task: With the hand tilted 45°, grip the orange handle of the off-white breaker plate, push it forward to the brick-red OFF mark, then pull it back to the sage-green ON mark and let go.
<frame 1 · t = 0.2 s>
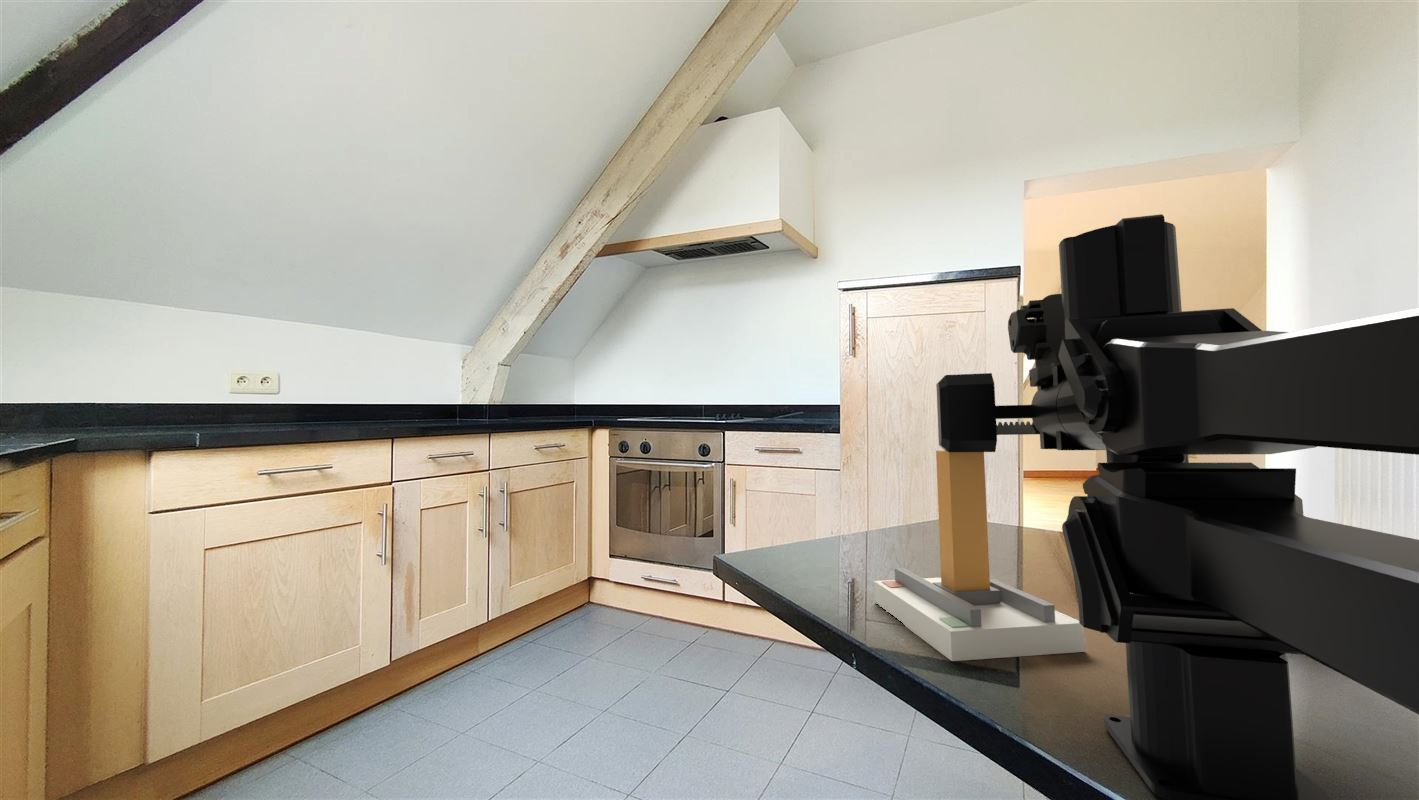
hand: (1039, 415, 51), 17 cm above the table, tool horizontal, fingers open, 9 cm apart
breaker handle: (962, 524, 46), point 8 cm above the table, slide at 2.4 cm
supplement bottle: (1226, 623, 45), on the table
breaker plate: (966, 624, 45), on the table
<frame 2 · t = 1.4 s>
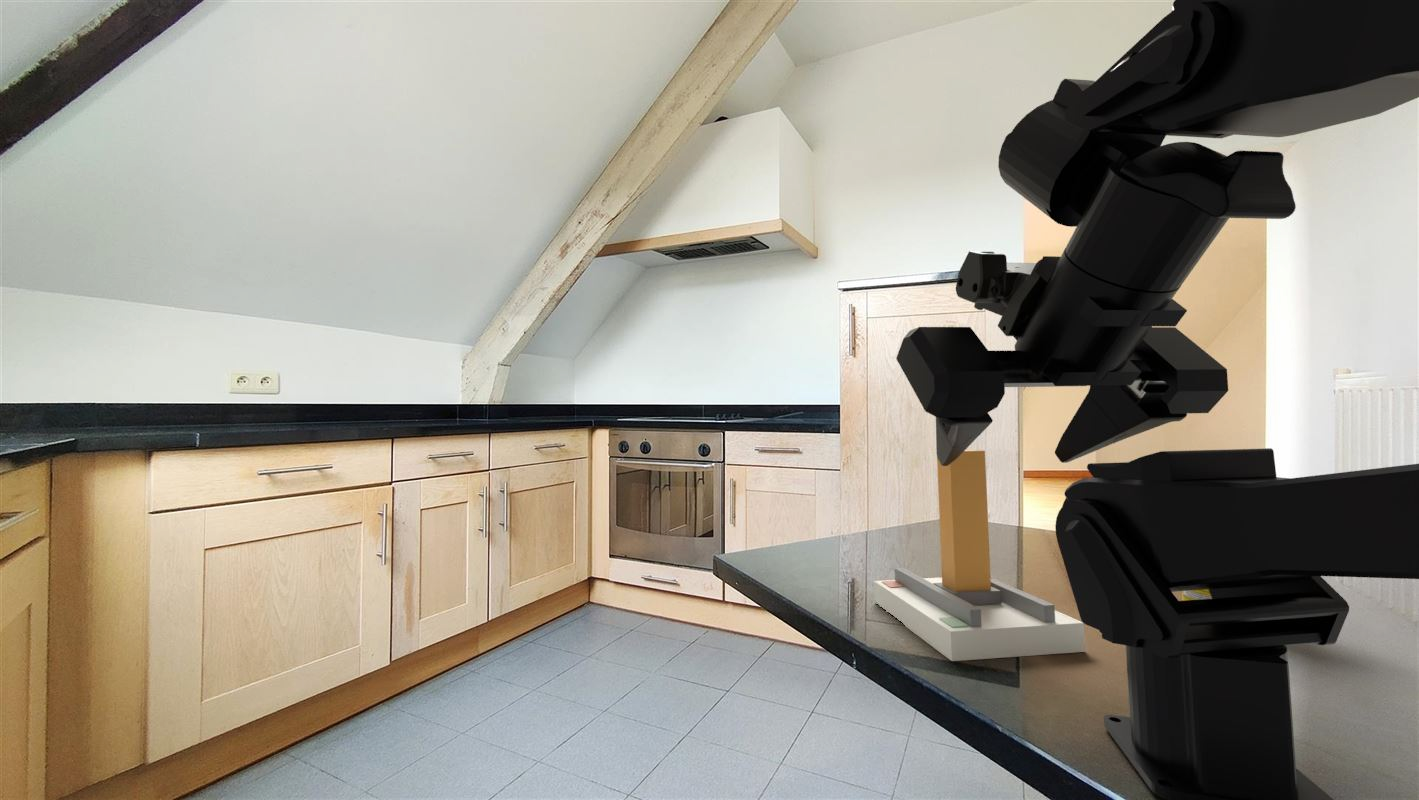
hand: (1001, 459, 41), 14 cm above the table, tool tilted 45°, fingers open, 9 cm apart
nothing on the table moved.
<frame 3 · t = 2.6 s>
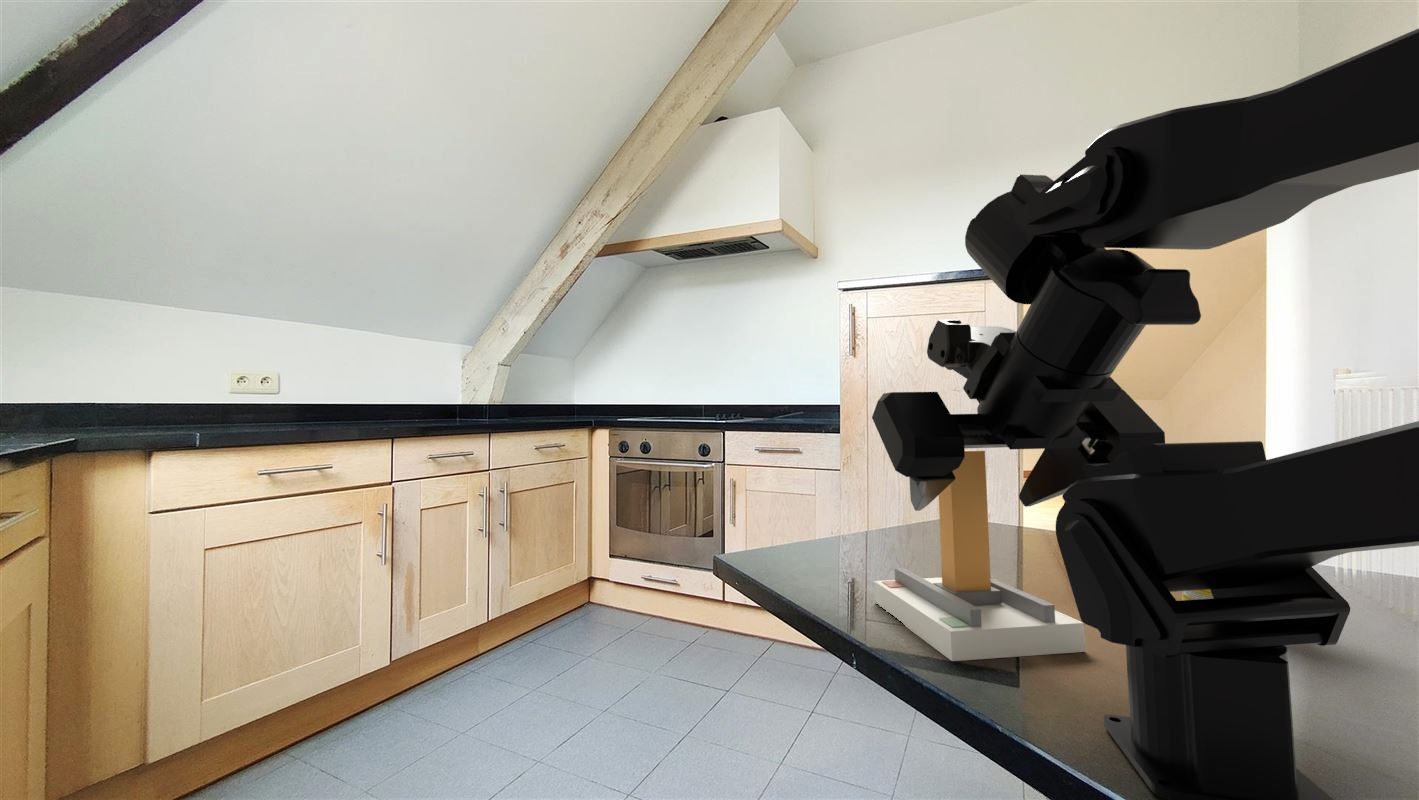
hand: (969, 503, 45), 10 cm above the table, tool tilted 45°, fingers open, 9 cm apart
nothing on the table moved.
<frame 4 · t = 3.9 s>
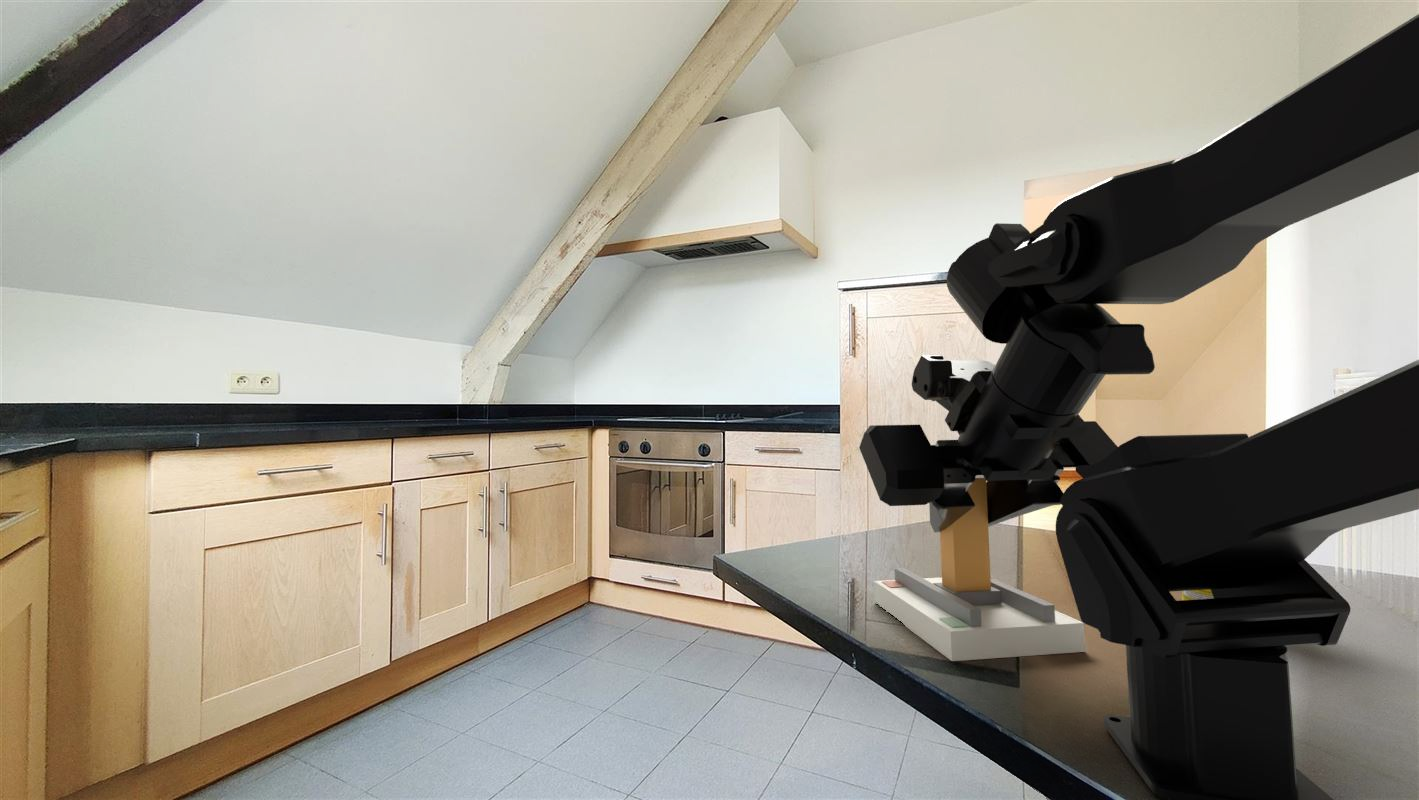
hand: (953, 526, 47), 8 cm above the table, tool tilted 45°, fingers closed on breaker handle, 3 cm apart
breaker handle: (963, 524, 46), point 8 cm above the table, slide at 2.3 cm, touching gripper
everything else where it was.
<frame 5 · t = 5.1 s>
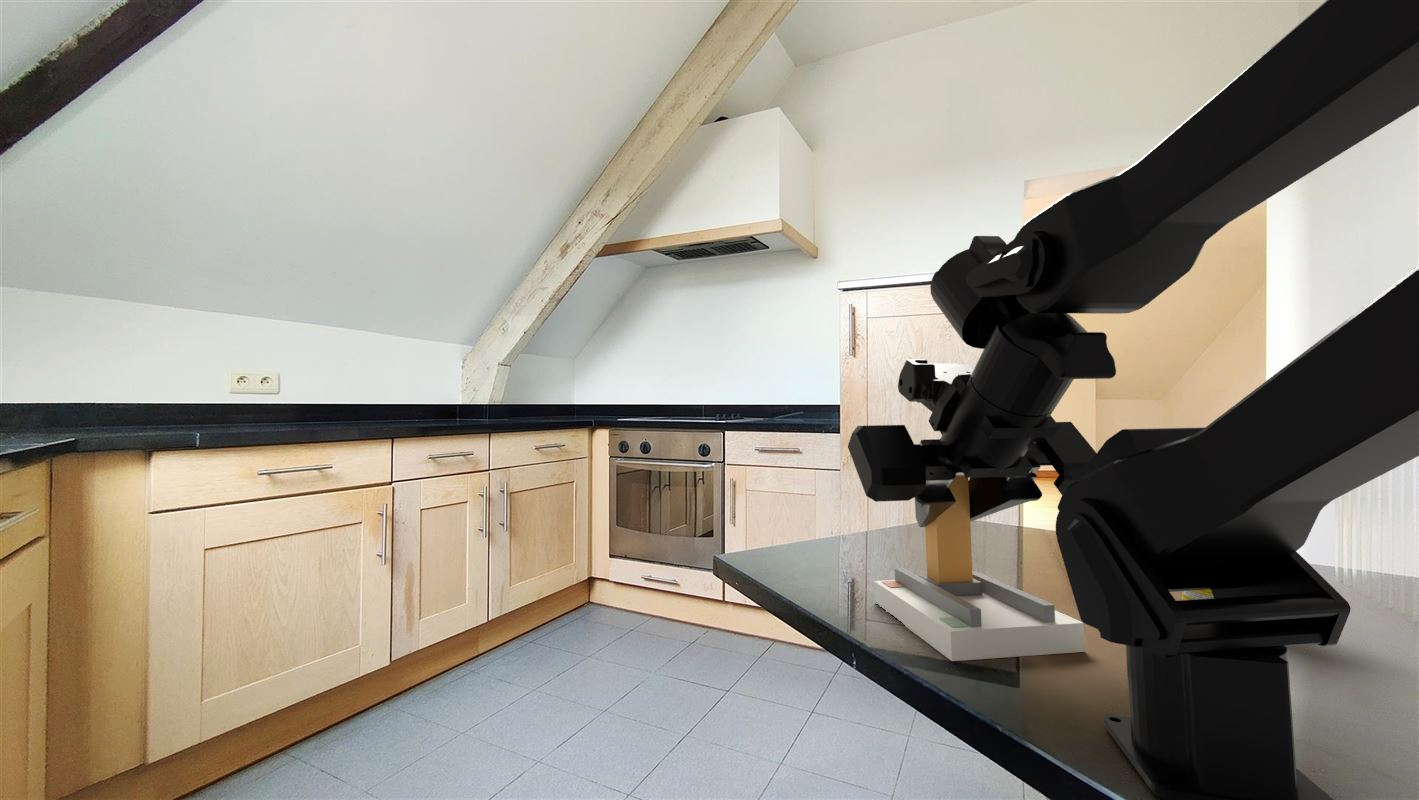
hand: (937, 522, 50), 8 cm above the table, tool tilted 45°, fingers closed on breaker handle, 3 cm apart
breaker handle: (947, 519, 48), point 8 cm above the table, slide at 4.8 cm, touching gripper
everything else where it was.
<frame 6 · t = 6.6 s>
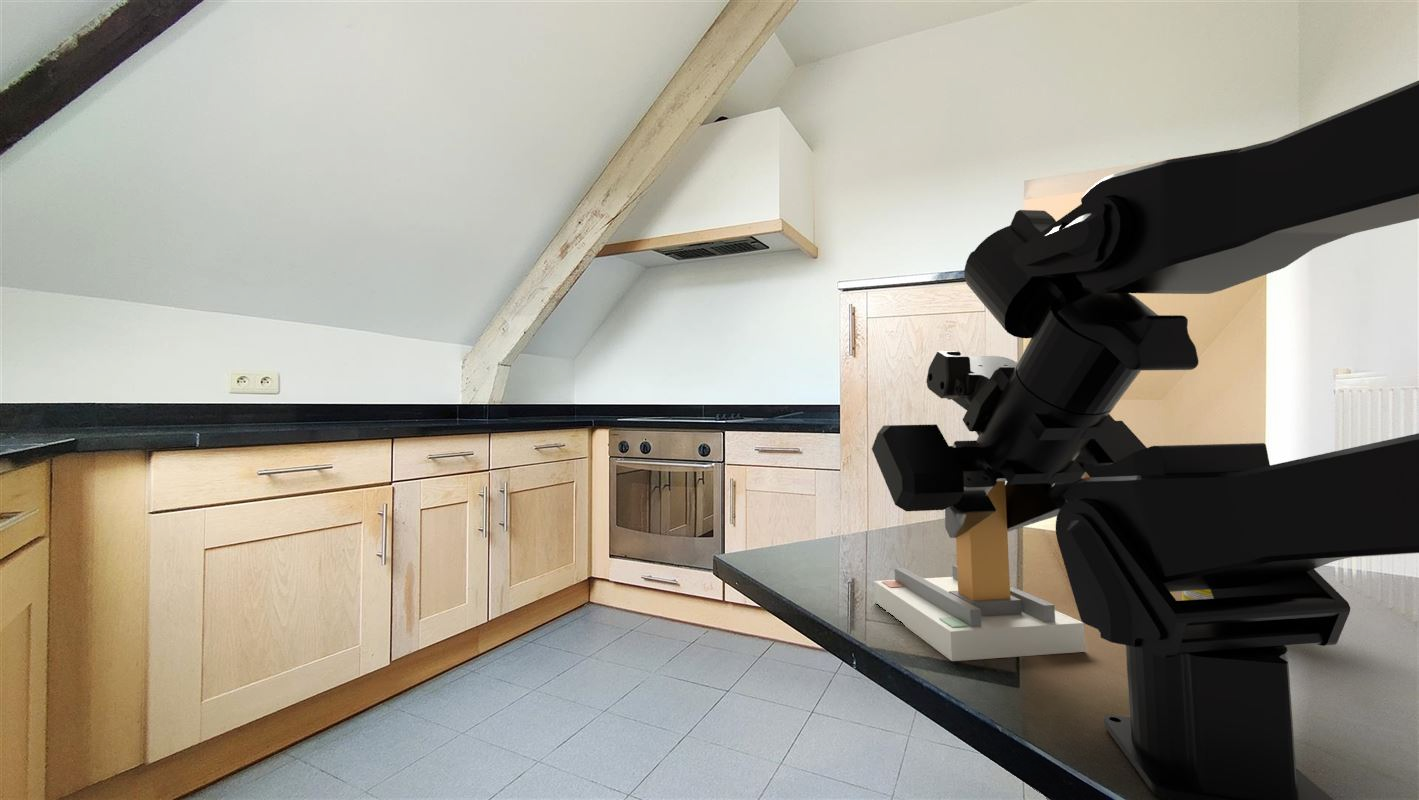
hand: (969, 532, 45), 8 cm above the table, tool tilted 45°, fingers closed on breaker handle, 3 cm apart
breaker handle: (980, 529, 43), point 8 cm above the table, slide at -0.1 cm, touching gripper
everything else where it was.
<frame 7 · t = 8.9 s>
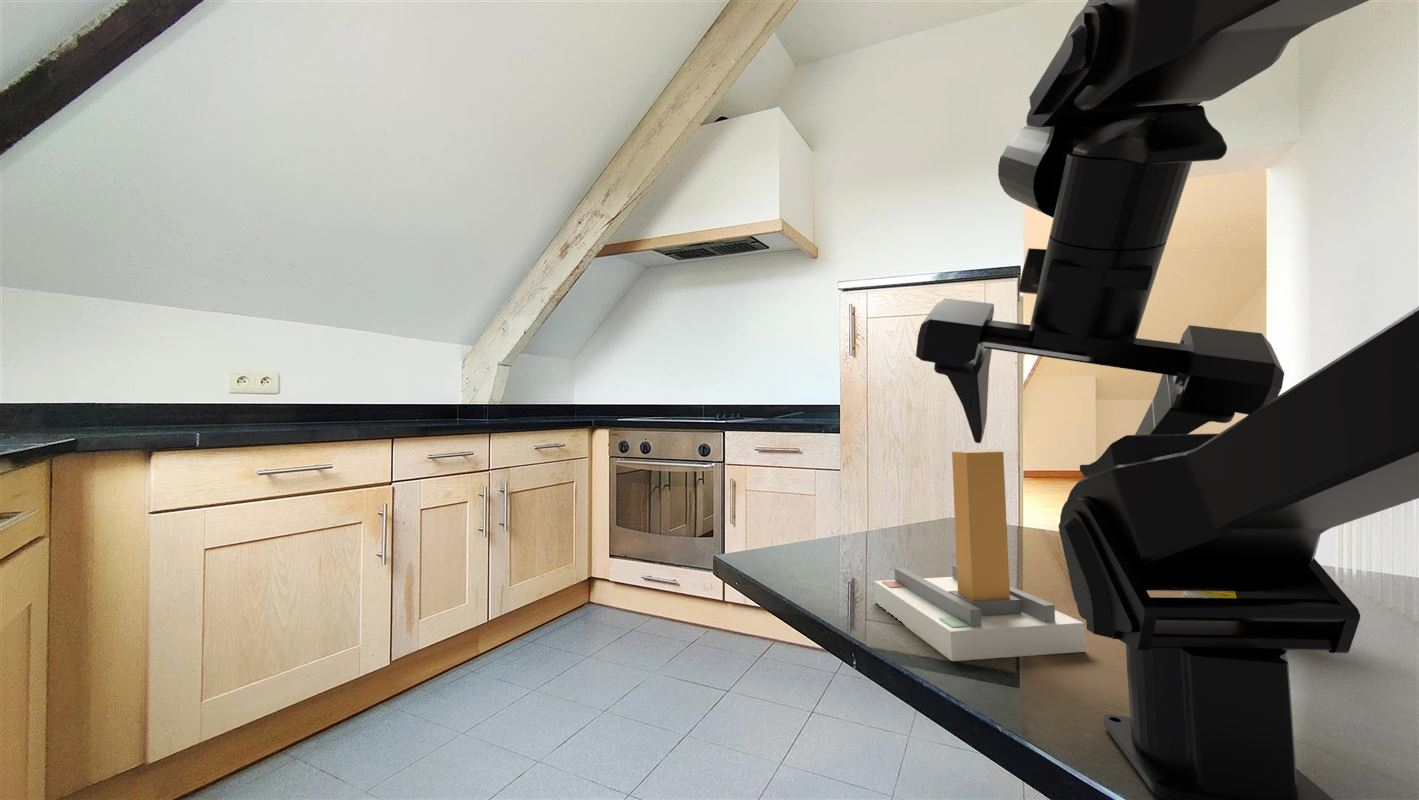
hand: (1047, 455, 40), 14 cm above the table, tool tilted 35°, fingers open, 9 cm apart
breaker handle: (980, 529, 43), point 8 cm above the table, slide at 0.0 cm
everything else where it was.
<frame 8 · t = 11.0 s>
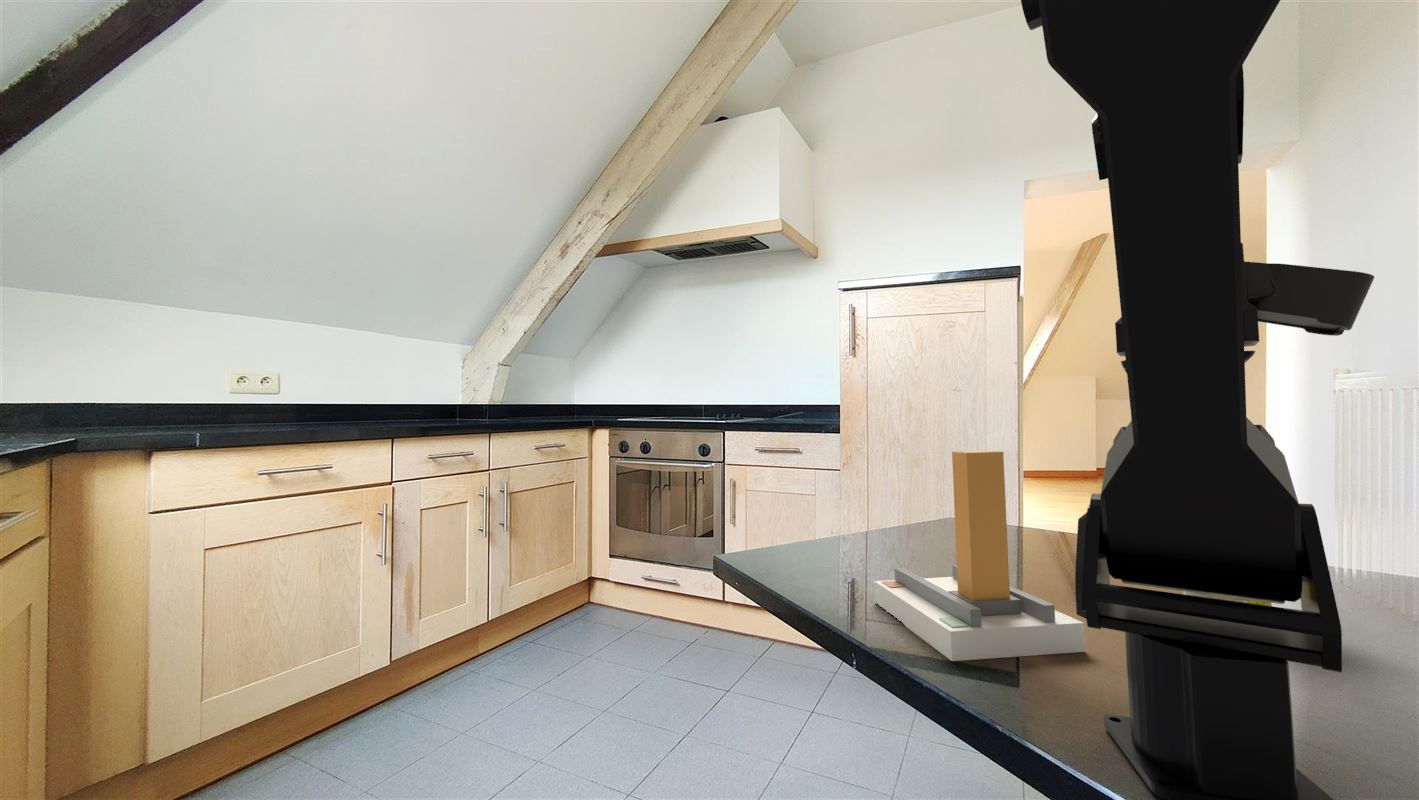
hand: (1190, 467, 38), 13 cm above the table, tool pointing down, fingers open, 9 cm apart
nothing on the table moved.
at the end: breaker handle slide at 0.0 cm; the gripper is holding nothing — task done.
